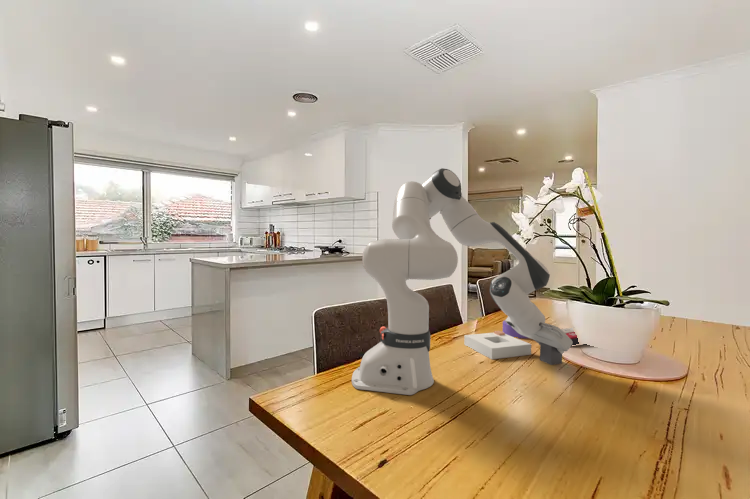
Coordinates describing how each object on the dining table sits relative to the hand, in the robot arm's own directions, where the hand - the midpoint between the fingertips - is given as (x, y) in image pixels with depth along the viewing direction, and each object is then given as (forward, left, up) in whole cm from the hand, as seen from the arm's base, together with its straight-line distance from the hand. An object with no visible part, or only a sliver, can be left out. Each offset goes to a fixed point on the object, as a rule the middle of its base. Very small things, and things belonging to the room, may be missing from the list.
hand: (552, 348), depth 111 cm
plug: (-1, 0, -4) cm, 4 cm away
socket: (-15, +11, -4) cm, 19 cm away
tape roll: (0, +32, -5) cm, 32 cm away
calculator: (+18, +24, -5) cm, 30 cm away
